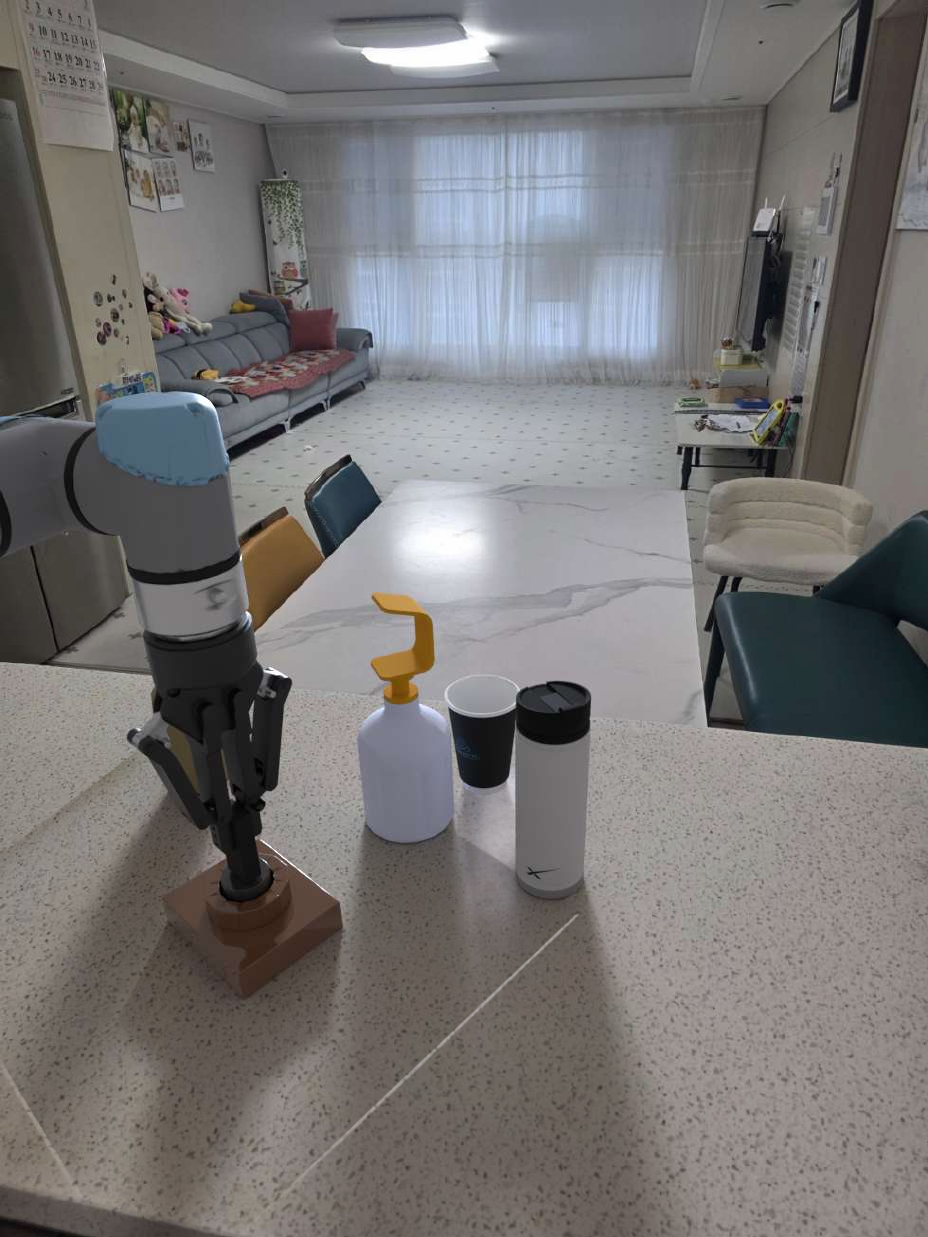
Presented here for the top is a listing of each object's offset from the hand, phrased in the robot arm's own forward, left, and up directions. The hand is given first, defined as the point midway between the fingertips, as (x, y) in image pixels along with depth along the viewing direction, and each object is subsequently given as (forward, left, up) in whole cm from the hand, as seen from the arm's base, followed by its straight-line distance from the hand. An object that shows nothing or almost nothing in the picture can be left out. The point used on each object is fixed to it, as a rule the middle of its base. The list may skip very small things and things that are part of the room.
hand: (244, 871), depth 69 cm
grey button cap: (0, 0, -2) cm, 2 cm away
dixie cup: (+11, +26, -6) cm, 29 cm away
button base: (0, 0, -6) cm, 6 cm away
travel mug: (+22, +15, -6) cm, 27 cm away
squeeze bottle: (-18, +15, -6) cm, 24 cm away
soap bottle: (+6, +18, -6) cm, 20 cm away
